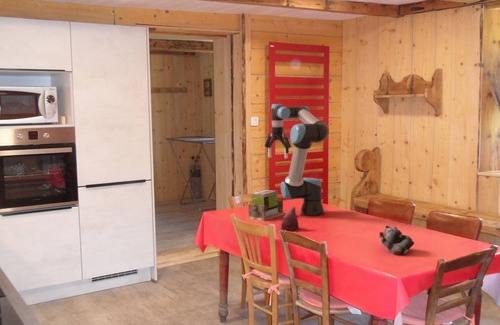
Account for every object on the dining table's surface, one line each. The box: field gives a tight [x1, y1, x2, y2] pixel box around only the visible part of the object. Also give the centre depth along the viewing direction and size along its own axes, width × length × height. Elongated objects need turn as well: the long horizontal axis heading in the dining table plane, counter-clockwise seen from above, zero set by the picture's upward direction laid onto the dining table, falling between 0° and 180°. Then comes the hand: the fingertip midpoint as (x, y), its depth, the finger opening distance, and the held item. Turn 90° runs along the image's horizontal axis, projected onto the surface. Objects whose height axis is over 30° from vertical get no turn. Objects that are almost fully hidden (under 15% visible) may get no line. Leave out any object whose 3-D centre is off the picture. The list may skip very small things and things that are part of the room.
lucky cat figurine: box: [379, 225, 415, 256], centre depth 265 cm, size 15×12×14 cm
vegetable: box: [280, 206, 300, 232], centre depth 315 cm, size 10×10×15 cm
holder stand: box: [248, 199, 284, 222], centre depth 349 cm, size 12×23×10 cm, turn 143°
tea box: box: [251, 189, 279, 216], centre depth 349 cm, size 15×10×15 cm, turn 142°
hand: (277, 157), depth 375 cm, fingers open, 13 cm apart
